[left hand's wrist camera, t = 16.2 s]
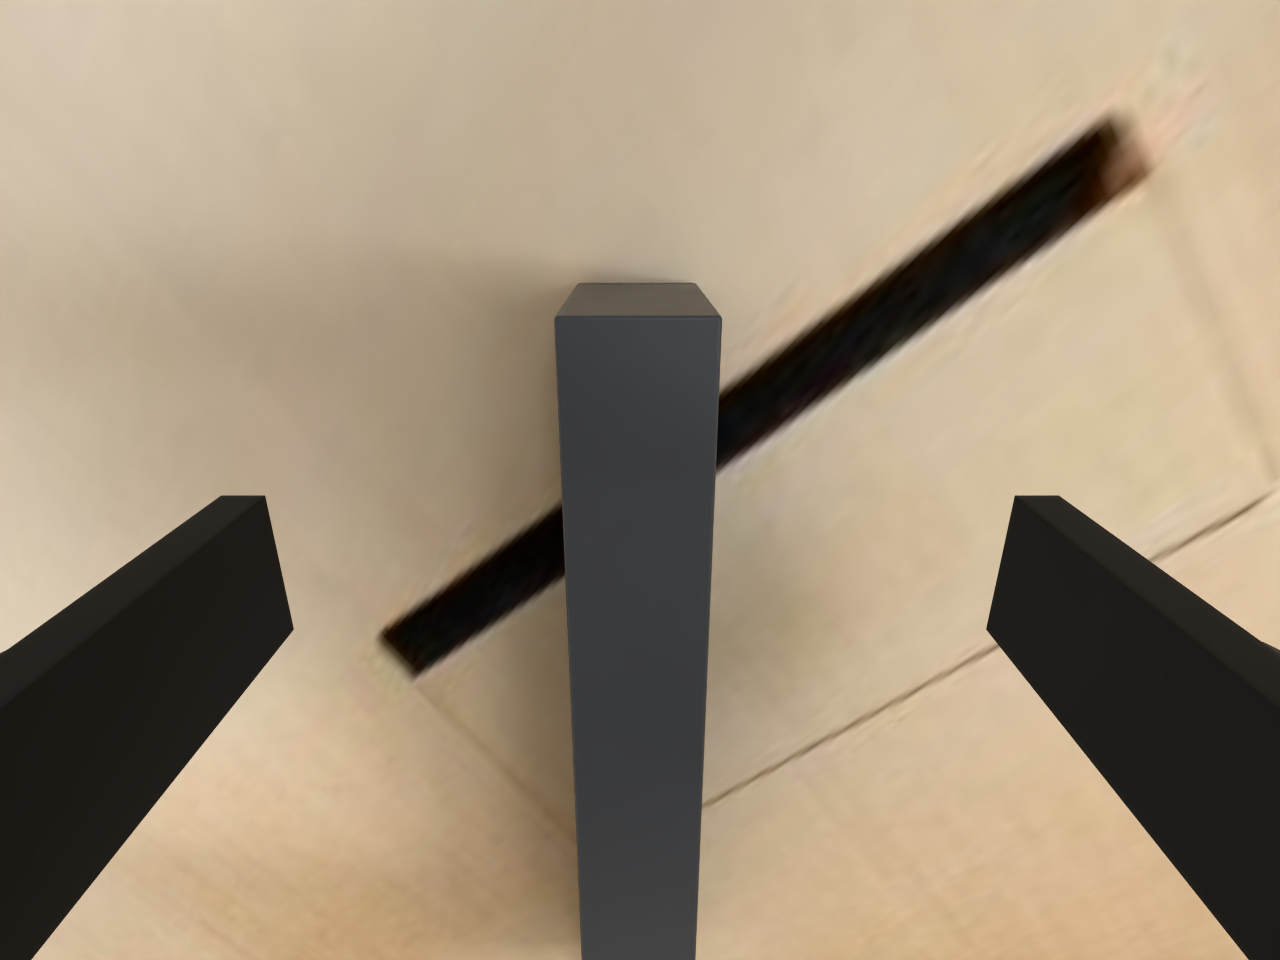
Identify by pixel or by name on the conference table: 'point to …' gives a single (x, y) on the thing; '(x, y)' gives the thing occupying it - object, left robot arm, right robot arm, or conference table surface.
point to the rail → (638, 601)
